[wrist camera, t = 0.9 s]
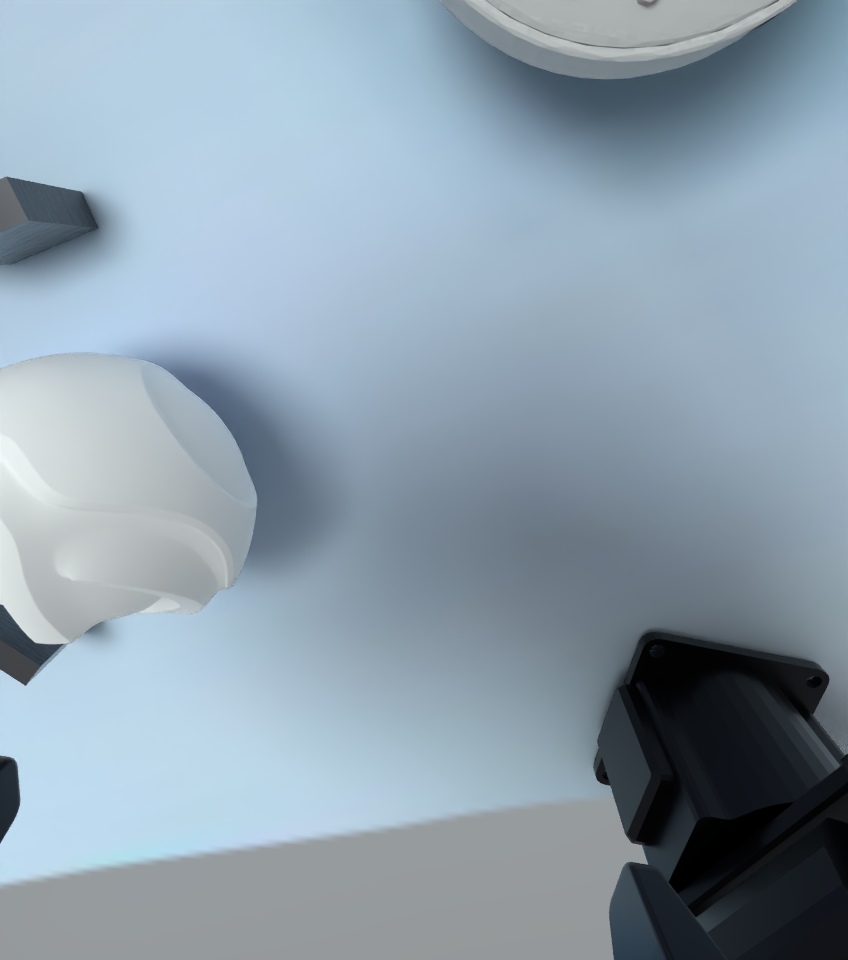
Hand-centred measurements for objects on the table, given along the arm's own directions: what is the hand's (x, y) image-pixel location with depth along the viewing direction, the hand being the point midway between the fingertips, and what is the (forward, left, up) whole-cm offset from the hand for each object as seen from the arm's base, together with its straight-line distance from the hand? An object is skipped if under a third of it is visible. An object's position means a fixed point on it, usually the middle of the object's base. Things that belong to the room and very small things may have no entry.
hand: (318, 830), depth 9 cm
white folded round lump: (+8, 0, -12) cm, 14 cm away
